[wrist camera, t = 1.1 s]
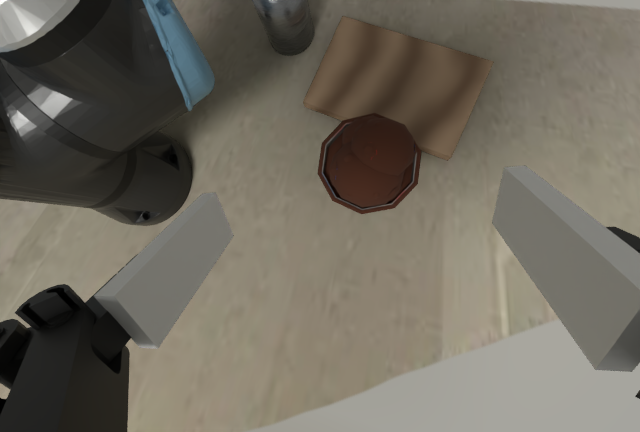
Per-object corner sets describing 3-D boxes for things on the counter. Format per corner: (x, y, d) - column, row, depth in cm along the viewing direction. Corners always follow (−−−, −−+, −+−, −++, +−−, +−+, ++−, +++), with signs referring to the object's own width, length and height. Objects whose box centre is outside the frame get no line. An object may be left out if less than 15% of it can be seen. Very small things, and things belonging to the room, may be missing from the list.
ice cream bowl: (346, 133, 39) (339, 68, 24) (419, 163, 37) (459, 112, 22) (315, 199, 39) (287, 173, 24) (386, 232, 37) (405, 227, 22)
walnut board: (305, 106, 40) (303, 101, 39) (343, 24, 40) (342, 15, 39) (447, 160, 36) (451, 157, 35) (488, 68, 37) (493, 61, 35)
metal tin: (263, 47, 42) (233, -11, 32) (281, 8, 42) (258, -63, 32) (302, 61, 41) (284, 4, 31) (321, 20, 41) (309, -49, 31)
